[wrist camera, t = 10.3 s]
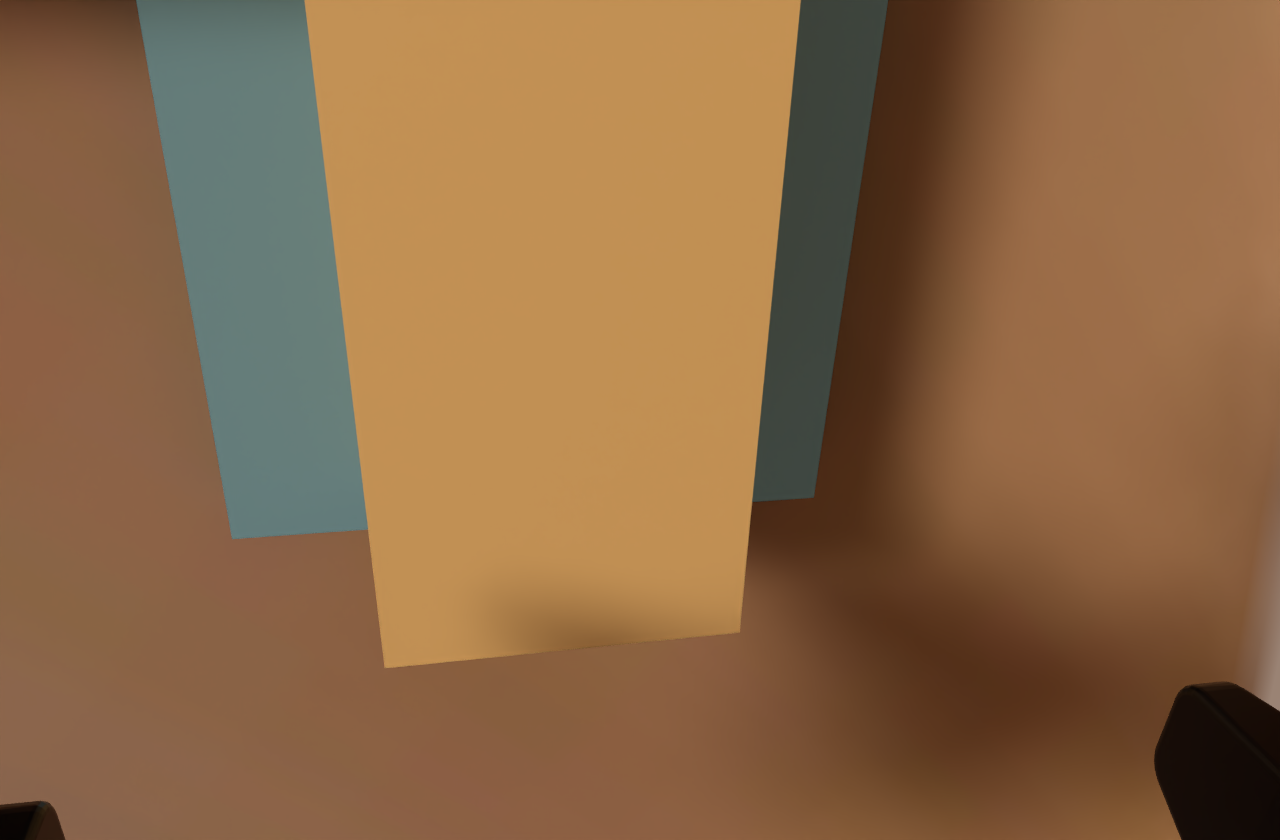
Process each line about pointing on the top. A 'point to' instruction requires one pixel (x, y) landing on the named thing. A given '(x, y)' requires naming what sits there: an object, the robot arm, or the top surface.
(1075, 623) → the top surface
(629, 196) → the tan rectangular slab
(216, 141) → the mat
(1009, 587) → the top surface
